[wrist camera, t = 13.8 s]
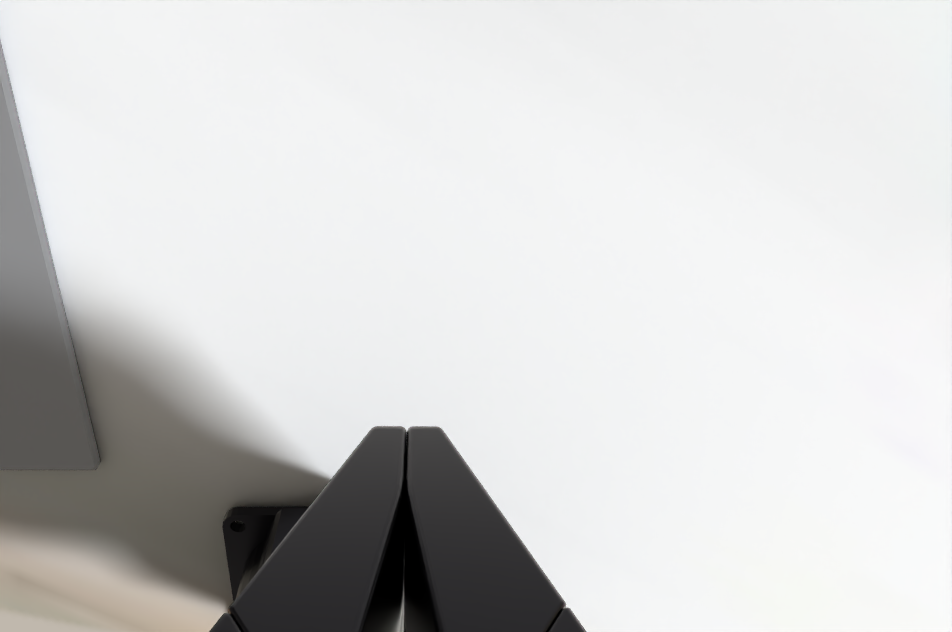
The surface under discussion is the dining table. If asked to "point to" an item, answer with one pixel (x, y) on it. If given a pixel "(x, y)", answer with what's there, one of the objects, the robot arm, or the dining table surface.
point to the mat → (34, 326)
